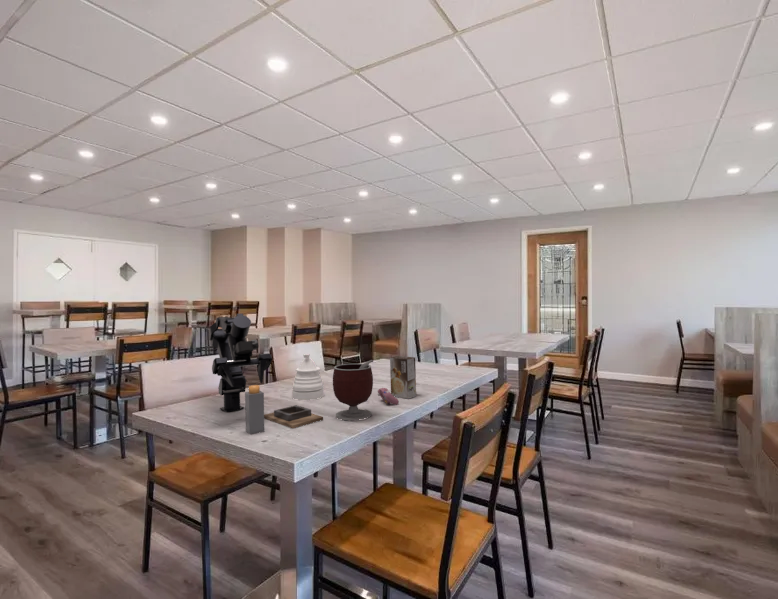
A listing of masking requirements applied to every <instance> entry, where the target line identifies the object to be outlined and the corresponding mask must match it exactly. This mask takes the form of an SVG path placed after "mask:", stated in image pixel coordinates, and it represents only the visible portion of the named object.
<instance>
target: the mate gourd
mask: <svg viewBox="0 0 778 599" xmlns="http://www.w3.org/2000/svg"><path fill="white" fill-rule="evenodd" d="M371 363H374V360H373V359H370V360H368V361H366V362H364V363H345V364H344V363H342V364H338V365H335V366H334V367H333V373H332V388H333V394H334V397H336V398H335V399H337V401H338V402H340V403H341V404H345V405H347V406H348V409H344V410H341V411H338V412H336V413H335V418H336V419H337V418H338V419H337V420H339V419H342V420H341V421H343V420H359V419H364V418H367V417H370V416H372V412H371V411H369V410H366V409H361V408H359V407H358V406H359V405H361V404H364V403H365V402H367V401H368V400H369V398H371V395H372V392H373V387H374V375H373V371H372V370H373V369H372V366H371V365H370V364H371ZM370 418H371V417H370Z"/></svg>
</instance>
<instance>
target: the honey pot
mask: <svg viewBox="0 0 778 599" xmlns="http://www.w3.org/2000/svg"><path fill="white" fill-rule="evenodd" d="M320 371H321V367H320V366H317V364H316V362H315V361H314V359H312V357H311V356H310V353H304V354H303V359H302V361H301V362H300V364H299V366H298V367H297V368H296V369H295V372H296V374H295V376H294V379H293V383H292V387H291V388H292V390H291V391H292V397H293V398H294V399H298V400H297V401H300V400H309V401H311V400H310V399H316V400H318V399H317V398H320V397H323V396H325V391H324V390H325V388H324V387H325V386H324V382H323V378H322V375H321V374H320ZM293 398H292V399H293ZM323 398H324V397H323ZM294 399H293V400H294ZM320 399H321V398H320Z"/></svg>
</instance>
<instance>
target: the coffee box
mask: <svg viewBox="0 0 778 599" xmlns="http://www.w3.org/2000/svg"><path fill="white" fill-rule="evenodd" d="M389 363H390V364H389V365H390V366H389V368H390V369H389V370H390V371H389V372H390V393H391V394H392V395H393V396H395V398H400V399H401V398H402V399H407V400H408V399H411V398H415V397H417V379H416V377H417V376H416V374H417V373H416V372H417V371H416V357H414V356H403V355H402V356H401V355H395V356H392V357H389Z"/></svg>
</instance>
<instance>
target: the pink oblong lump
mask: <svg viewBox="0 0 778 599" xmlns="http://www.w3.org/2000/svg"><path fill="white" fill-rule="evenodd" d="M377 396H378V397H380V398H381V399H382V401H383V402H384V401H385V402H384V403H386V404H387V405H389V404H391V405H395V406H397V404H398V405H399V400H398V397H394V396H393V395H392V394H391V391H389V389H388V388H386V387H383V386H382V387H380V388H379V389H378V390H377Z"/></svg>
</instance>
